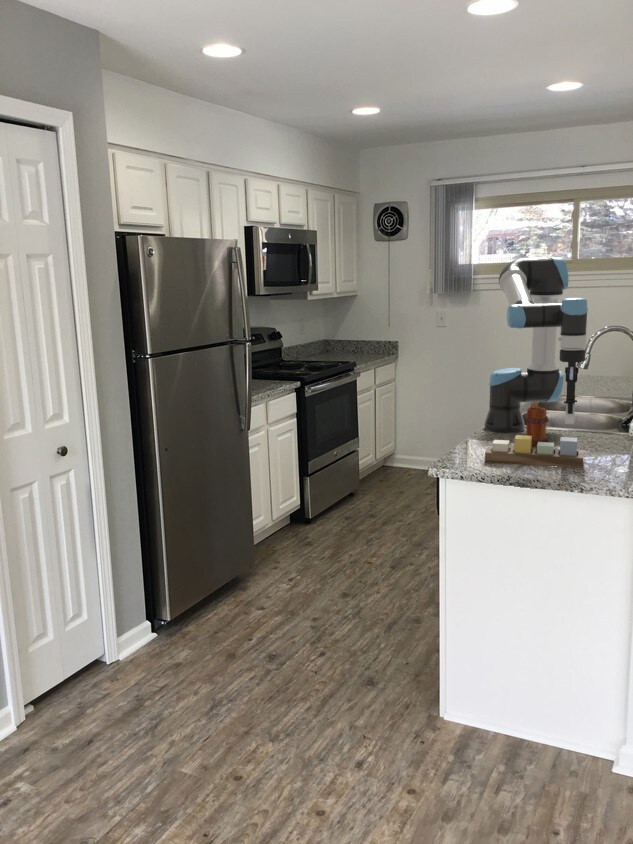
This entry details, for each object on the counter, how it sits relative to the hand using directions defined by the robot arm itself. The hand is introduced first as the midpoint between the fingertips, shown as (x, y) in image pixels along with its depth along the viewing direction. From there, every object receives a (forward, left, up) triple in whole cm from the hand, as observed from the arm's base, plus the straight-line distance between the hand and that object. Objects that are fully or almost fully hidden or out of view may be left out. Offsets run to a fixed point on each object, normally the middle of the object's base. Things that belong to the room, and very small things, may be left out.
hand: (569, 423), depth 228 cm
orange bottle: (-20, -12, -14) cm, 27 cm away
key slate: (0, 0, -10) cm, 10 cm away
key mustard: (0, -14, -10) cm, 17 cm away
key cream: (0, -21, -12) cm, 24 cm away
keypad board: (0, -11, -13) cm, 17 cm away
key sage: (0, -7, -12) cm, 14 cm away
